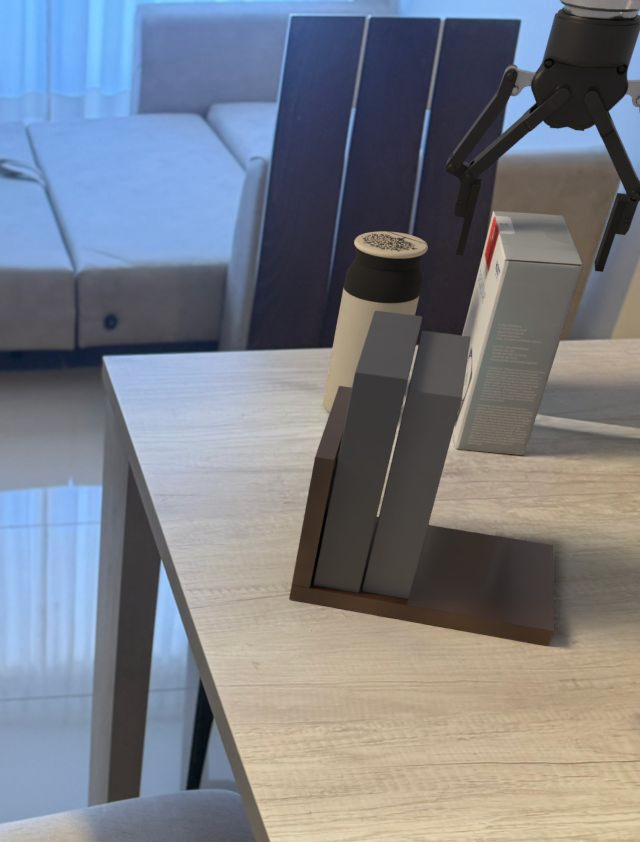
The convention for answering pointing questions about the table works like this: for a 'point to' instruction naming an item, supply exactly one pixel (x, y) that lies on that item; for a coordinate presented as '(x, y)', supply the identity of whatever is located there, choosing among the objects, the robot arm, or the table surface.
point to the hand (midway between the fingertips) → (528, 259)
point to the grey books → (371, 449)
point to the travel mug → (373, 297)
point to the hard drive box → (515, 328)
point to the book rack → (435, 567)
